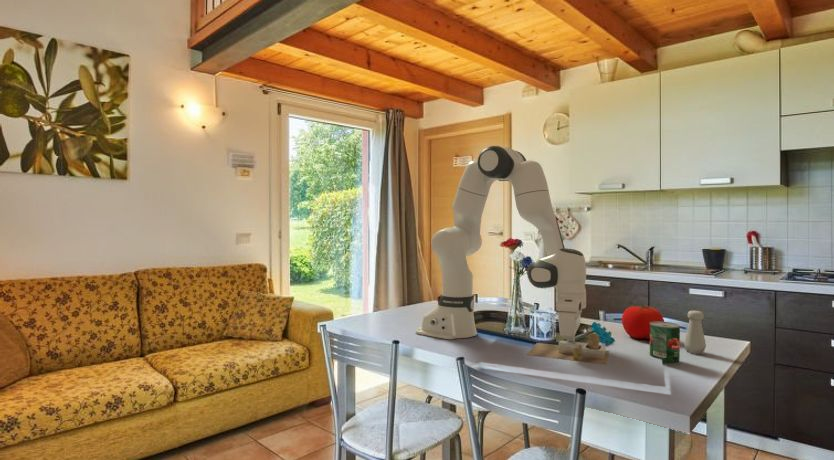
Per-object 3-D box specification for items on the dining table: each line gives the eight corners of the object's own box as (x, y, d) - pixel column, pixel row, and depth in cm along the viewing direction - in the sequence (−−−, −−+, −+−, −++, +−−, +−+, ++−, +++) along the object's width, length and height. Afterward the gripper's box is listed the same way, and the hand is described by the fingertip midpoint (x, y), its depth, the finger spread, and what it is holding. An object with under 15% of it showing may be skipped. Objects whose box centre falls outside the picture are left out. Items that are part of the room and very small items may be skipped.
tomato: (640, 331, 174) (640, 300, 174) (672, 340, 162) (672, 307, 161) (613, 335, 170) (613, 302, 169) (644, 344, 157) (644, 309, 157)
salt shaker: (704, 356, 143) (705, 313, 143) (683, 353, 147) (683, 311, 147) (706, 351, 148) (707, 310, 148) (686, 348, 152) (686, 308, 151)
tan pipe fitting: (557, 353, 141) (557, 344, 141) (560, 348, 147) (561, 339, 147) (604, 359, 136) (604, 349, 136) (605, 353, 141) (605, 343, 141)
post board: (526, 359, 141) (526, 334, 140) (536, 347, 154) (536, 324, 154) (605, 369, 131) (605, 343, 131) (609, 355, 144) (609, 331, 144)
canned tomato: (648, 356, 144) (648, 320, 144) (677, 358, 141) (678, 322, 141) (650, 363, 137) (650, 325, 136) (681, 366, 134) (681, 328, 133)
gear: (609, 346, 148) (589, 320, 154) (595, 357, 151) (576, 331, 157) (623, 345, 156) (603, 320, 162) (610, 355, 159) (591, 330, 164)
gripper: (565, 295, 156) (565, 336, 157) (555, 306, 138) (555, 352, 138) (585, 296, 154) (585, 338, 154) (577, 307, 135) (577, 355, 136)
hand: (570, 345), depth 146 cm, fingers closed
